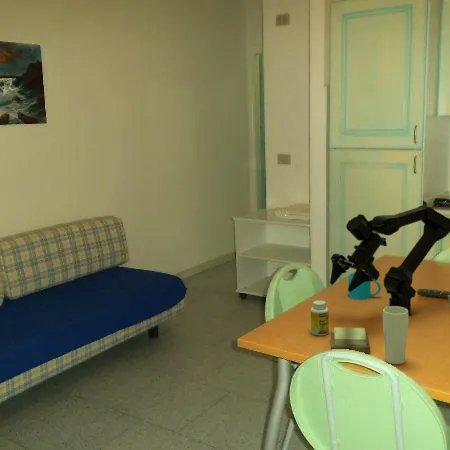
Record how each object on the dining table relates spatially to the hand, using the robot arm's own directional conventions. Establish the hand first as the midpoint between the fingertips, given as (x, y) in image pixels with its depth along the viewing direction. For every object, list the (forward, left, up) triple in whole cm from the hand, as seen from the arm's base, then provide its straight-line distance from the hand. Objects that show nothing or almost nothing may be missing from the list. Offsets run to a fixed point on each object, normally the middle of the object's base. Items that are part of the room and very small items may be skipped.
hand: (339, 287), depth 187 cm
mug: (-10, -32, -14) cm, 36 cm away
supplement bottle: (+6, +5, -14) cm, 16 cm away
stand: (-3, +15, -13) cm, 20 cm away
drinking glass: (-15, +25, -14) cm, 32 cm away
